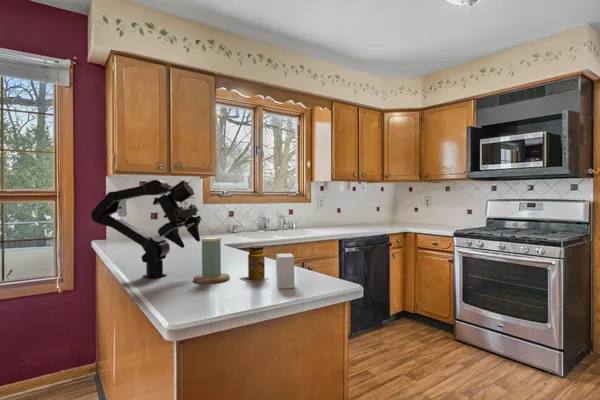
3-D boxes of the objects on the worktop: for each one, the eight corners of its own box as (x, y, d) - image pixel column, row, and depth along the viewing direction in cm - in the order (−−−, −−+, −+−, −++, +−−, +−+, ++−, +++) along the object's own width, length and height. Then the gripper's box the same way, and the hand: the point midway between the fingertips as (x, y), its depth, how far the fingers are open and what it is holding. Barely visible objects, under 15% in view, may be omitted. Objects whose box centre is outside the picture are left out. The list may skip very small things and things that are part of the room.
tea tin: (201, 277, 131) (201, 238, 130) (208, 274, 136) (207, 237, 136) (215, 278, 130) (214, 239, 129) (221, 275, 135) (220, 237, 135)
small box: (294, 288, 119) (294, 256, 119) (277, 289, 118) (277, 257, 118) (292, 282, 127) (292, 253, 127) (276, 283, 126) (276, 253, 126)
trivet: (186, 280, 132) (186, 277, 132) (214, 274, 142) (214, 271, 142) (208, 285, 124) (208, 282, 124) (237, 278, 134) (236, 275, 134)
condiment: (269, 279, 132) (268, 246, 132) (248, 282, 128) (247, 248, 128) (259, 275, 138) (259, 244, 138) (239, 278, 134) (239, 246, 134)
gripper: (167, 202, 126) (189, 240, 125) (200, 195, 143) (220, 228, 142) (148, 217, 130) (169, 254, 129) (182, 208, 147) (201, 241, 146)
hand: (191, 244), depth 136 cm, fingers open, 9 cm apart
